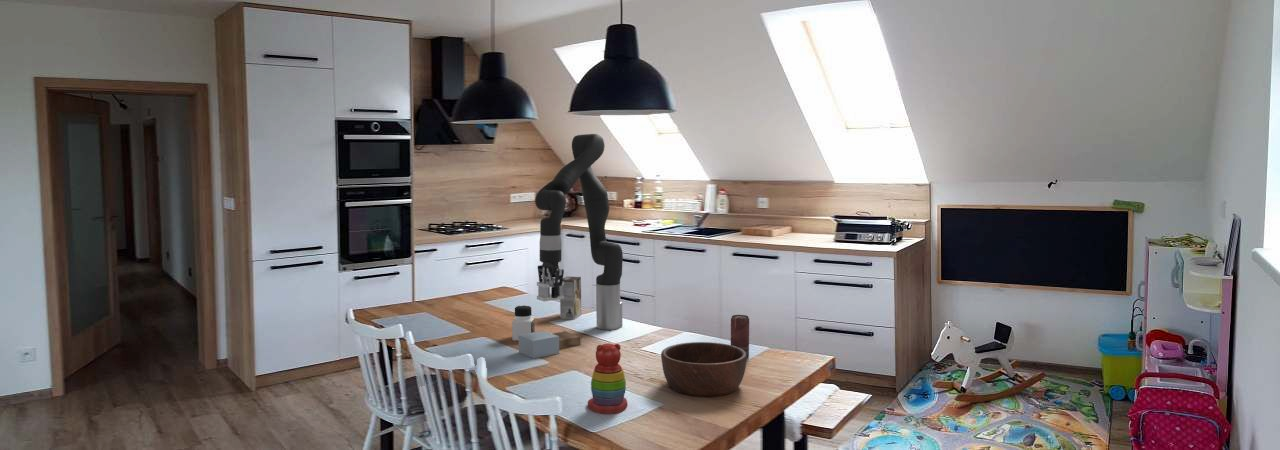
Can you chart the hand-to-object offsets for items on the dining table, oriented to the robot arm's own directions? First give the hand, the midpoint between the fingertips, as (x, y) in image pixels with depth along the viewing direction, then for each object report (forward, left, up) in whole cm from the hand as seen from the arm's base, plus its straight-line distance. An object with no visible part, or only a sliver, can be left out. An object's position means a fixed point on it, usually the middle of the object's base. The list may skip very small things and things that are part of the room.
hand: (550, 296), depth 272 cm
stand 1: (+7, +3, -18) cm, 20 cm away
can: (-42, +50, -18) cm, 68 cm away
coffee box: (-32, -37, -18) cm, 52 cm away
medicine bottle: (+1, -18, -18) cm, 26 cm away
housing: (0, 0, -1) cm, 1 cm away
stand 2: (-5, -2, -18) cm, 19 cm away
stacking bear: (+21, +63, -18) cm, 69 cm away
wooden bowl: (-12, +65, -19) cm, 69 cm away
